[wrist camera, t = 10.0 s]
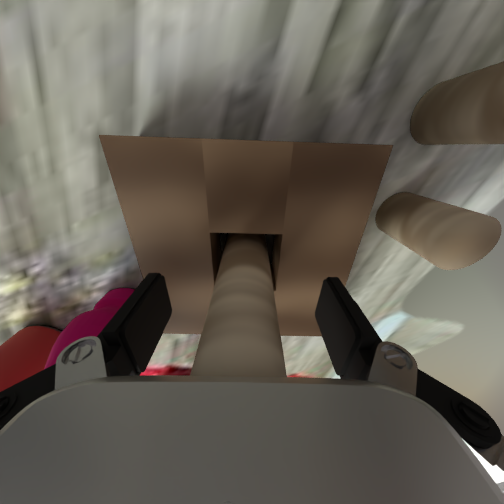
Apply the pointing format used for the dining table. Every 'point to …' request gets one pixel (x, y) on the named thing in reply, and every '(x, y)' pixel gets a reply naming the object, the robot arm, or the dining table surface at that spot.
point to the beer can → (25, 354)
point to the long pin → (242, 315)
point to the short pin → (438, 230)
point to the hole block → (244, 214)
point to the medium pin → (462, 110)
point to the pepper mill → (89, 322)
